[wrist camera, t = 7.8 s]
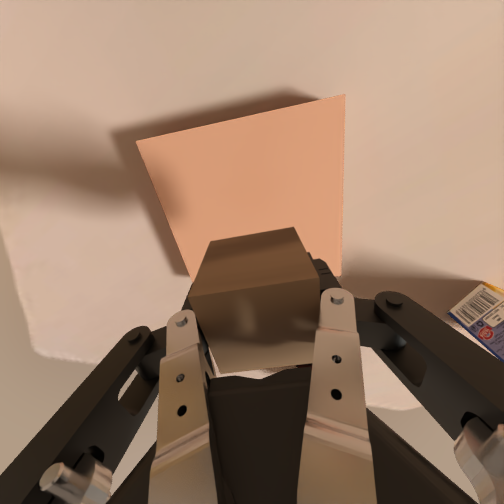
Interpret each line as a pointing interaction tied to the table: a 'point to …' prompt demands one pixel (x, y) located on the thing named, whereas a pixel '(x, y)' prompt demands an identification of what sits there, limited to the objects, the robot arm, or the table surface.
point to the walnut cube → (257, 301)
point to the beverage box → (483, 317)
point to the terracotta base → (254, 179)
